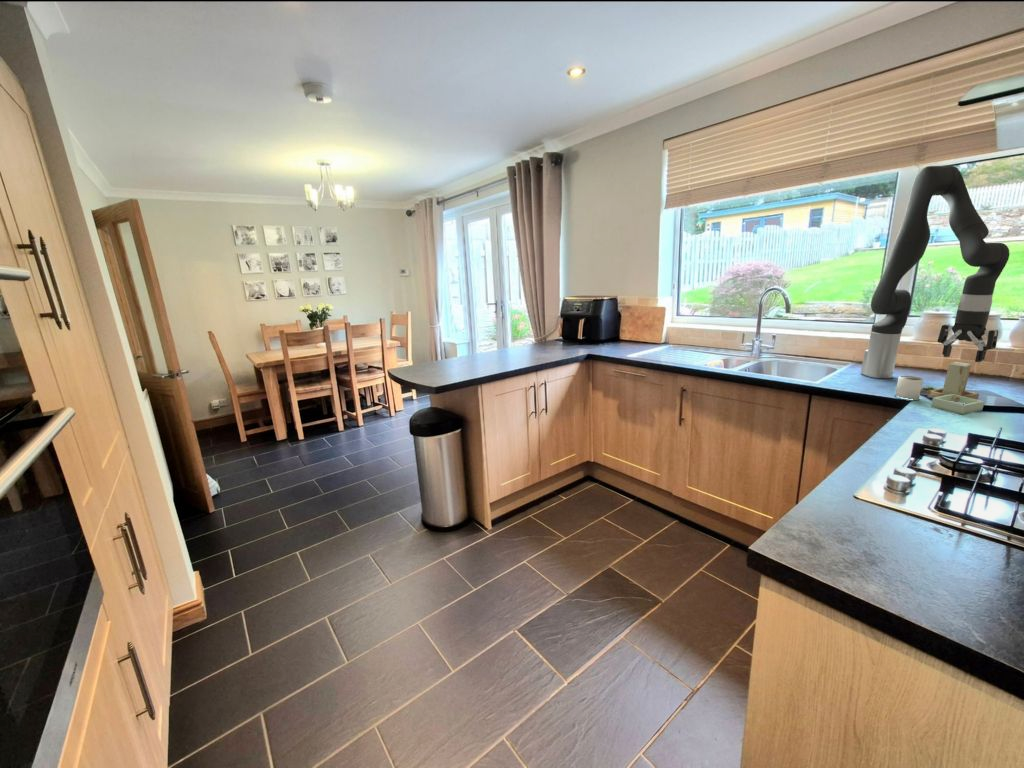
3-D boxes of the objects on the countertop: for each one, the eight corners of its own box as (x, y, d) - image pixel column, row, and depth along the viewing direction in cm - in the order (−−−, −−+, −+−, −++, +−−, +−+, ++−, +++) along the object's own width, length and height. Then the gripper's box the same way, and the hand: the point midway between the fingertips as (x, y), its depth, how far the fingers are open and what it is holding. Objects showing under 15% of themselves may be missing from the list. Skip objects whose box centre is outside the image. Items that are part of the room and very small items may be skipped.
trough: (930, 406, 153) (932, 397, 153) (950, 402, 157) (952, 393, 156) (962, 415, 146) (964, 405, 145) (982, 410, 149) (984, 401, 148)
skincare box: (956, 403, 156) (965, 366, 153) (939, 399, 160) (948, 363, 156) (963, 399, 160) (972, 363, 156) (946, 396, 163) (955, 361, 160)
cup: (890, 396, 164) (894, 376, 162) (902, 393, 166) (906, 374, 164) (910, 401, 158) (915, 381, 156) (923, 399, 161) (928, 378, 159)
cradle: (909, 393, 167) (910, 386, 166) (928, 389, 170) (930, 382, 170) (956, 405, 154) (958, 398, 153) (977, 401, 158) (979, 393, 157)
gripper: (1009, 310, 146) (996, 362, 151) (954, 305, 159) (943, 354, 163) (995, 312, 144) (981, 365, 148) (939, 307, 157) (929, 356, 161)
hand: (961, 359), depth 156 cm, fingers open, 8 cm apart
